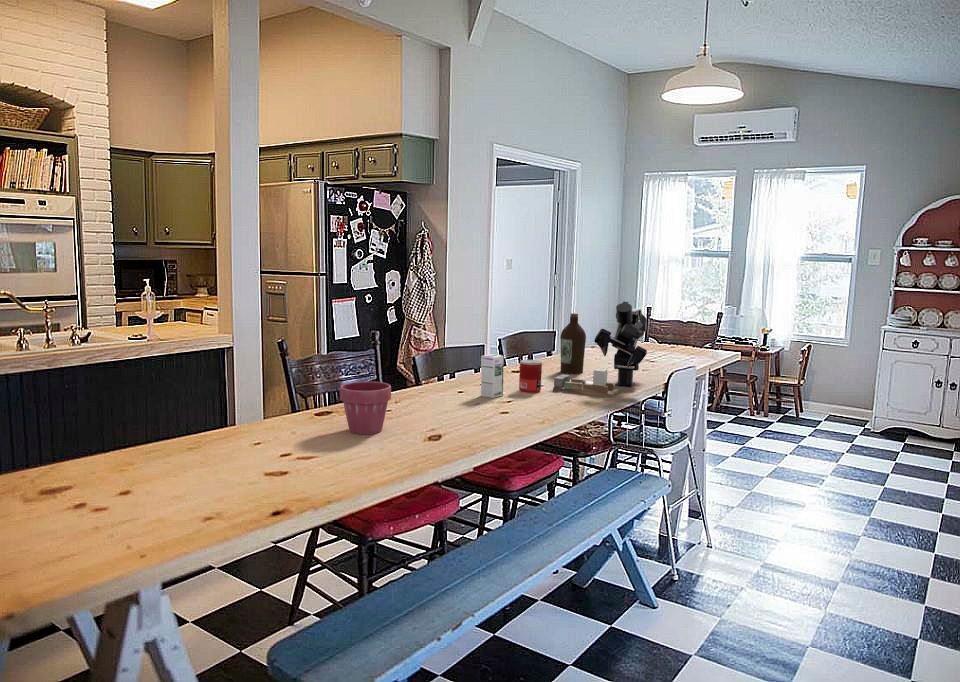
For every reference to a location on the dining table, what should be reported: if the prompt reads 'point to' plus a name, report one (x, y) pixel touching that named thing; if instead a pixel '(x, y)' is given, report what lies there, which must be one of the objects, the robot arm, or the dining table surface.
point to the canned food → (530, 376)
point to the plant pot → (365, 405)
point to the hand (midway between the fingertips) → (616, 360)
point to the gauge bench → (583, 387)
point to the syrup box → (492, 375)
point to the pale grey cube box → (598, 378)
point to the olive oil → (572, 347)
